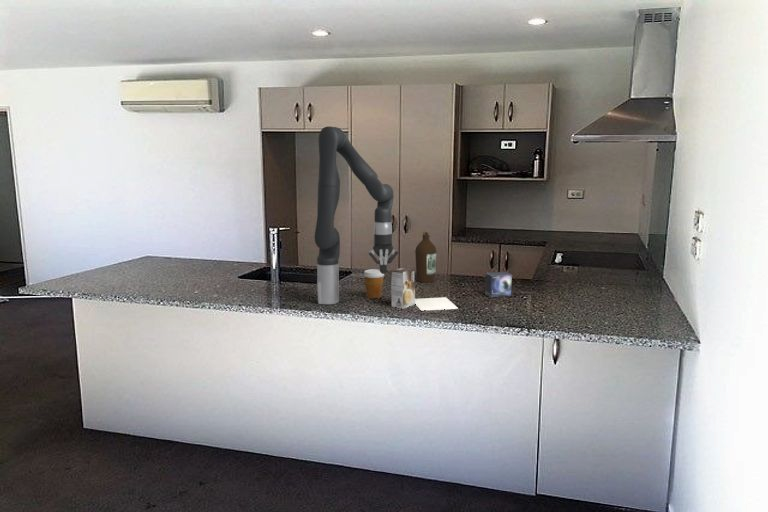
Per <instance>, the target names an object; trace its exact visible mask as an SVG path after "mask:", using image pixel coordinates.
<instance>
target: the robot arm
mask: <svg viewBox="0 0 768 512" xmlns="http://www.w3.org/2000/svg"><path fill="white" fill-rule="evenodd" d="M337 153H338V154H340V156H341V157H342V158H343V159H344V160H345V161H346V163H347V165H348V166H349V169H350V170H351V172H352V173H353V174H354V176H355V177H356V178H357V179H358V180H359V182H361V184H362V185H364V188H365V189H366V191H367V192H368V194H369V195H370V196H371V198H372V199H373V200H375V201H377V203H376V204H377V205H376V208H375V209H374V222H373V223H374V225H373V247H372V249H371V250H370V251H368V255H369V256H370V257H371V259H372V260H373V261H374V262H375V264H376V265H379V270H380V272H381V273H382V274H384V275H386V273H387V272H388V264H391V263H392V262H393V261H394V259H395V258H396V257H397V256H398V255H399V252H398V250H396V249H394V246H393V225H392V224H393V223H392V208H393V202H394V189H393V188H392V186H391V185H390V184H386V183H382V182H381V181H380V180H379V178H378V174H377V172H375V170H374V169H373V168H372V167H371V166H370V165H369V164H368V162H366V161H365V159H364V158H363V157H362V155H360V153H359V152H358V151H357V149H355V147H354V146H353V144H352V143H351V141H350V140H349V138H348V136H347V135H346V134H345V132H344V131H343V130H342V129H341V128H340V127H337V126H325V127H323V128H321V130H320V132H319V135H318V154H319V162H318V181H317V206H316V207H317V208H316V209H317V216H316V217H317V218H316V223H315V224H316V225H315V230H314V242H315V244H316V247H318V255H317V258H316V264H317V265H316V268H317V270H316V271H317V272H316V274H317V279H316V282H317V283H316V284H317V285H316V286H317V290H316V291H317V303H318V305H334V304H338V303H339V302H340V283H339V281H340V276H339V275H340V274H339V273H340V269H339V258H340V253H341V252H340V250H341V247H340V246H341V244H340V243H341V238H340V233H339V230H338V229H337V228H336V227H334V226H335V214H336V212H337V208H338V204H339V200H340V193H341V180H340V174H339V171H338V167H337ZM375 254H376V256H377V257H378V259H377V258H376V256H375ZM390 254H391V255H390Z"/></svg>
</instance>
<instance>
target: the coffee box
mask: <svg viewBox="0 0 768 512" xmlns="http://www.w3.org/2000/svg"><path fill="white" fill-rule="evenodd" d="M390 273H391V276H390V277H391V278H390V279H391V280H390V281H391V282H390V284H391V287H390V288H391V290H390V293H391V294H390V295H391V308H395V307H397V308H396V309H401V308H402V309H401V310H404V309H407V308H409V306H410V307H412V306H414V305H415V299H416V267H415V268H414V267H405V266H403V267H399V268H395V269H391V272H390ZM415 306H416V305H415Z"/></svg>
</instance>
